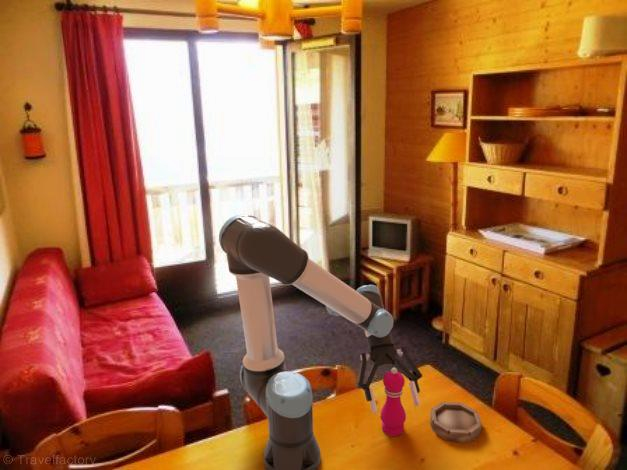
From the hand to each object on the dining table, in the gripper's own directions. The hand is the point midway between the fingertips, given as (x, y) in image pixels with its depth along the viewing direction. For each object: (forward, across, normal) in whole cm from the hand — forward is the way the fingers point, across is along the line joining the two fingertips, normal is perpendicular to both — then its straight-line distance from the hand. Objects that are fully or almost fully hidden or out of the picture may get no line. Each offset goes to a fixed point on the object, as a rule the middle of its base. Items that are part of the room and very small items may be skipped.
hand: (396, 409), depth 131 cm
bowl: (+7, -18, -5) cm, 20 cm away
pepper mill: (+4, 0, -8) cm, 9 cm away
